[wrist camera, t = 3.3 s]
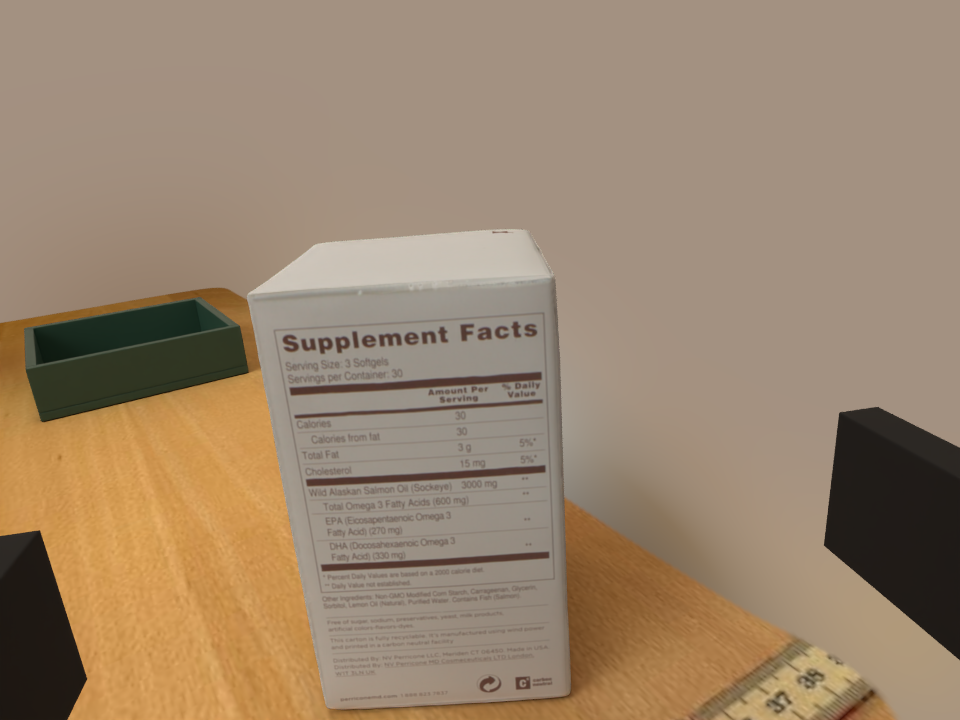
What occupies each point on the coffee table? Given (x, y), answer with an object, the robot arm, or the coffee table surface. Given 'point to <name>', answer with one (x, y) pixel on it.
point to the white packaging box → (423, 464)
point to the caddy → (129, 355)
